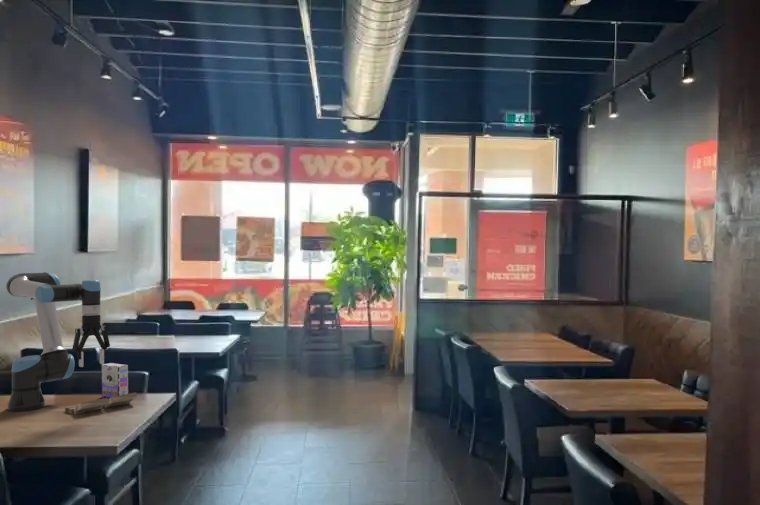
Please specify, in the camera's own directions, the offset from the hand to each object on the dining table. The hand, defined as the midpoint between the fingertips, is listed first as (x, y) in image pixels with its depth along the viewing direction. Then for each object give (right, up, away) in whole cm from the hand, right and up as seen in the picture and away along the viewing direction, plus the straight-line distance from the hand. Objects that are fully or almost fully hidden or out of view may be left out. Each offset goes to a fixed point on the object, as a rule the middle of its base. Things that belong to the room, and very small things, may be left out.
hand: (91, 365), depth 283 cm
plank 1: (0, -19, 0) cm, 19 cm away
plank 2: (+9, -19, +11) cm, 24 cm away
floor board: (-2, -21, +11) cm, 24 cm away
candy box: (-2, -22, +30) cm, 37 cm away
